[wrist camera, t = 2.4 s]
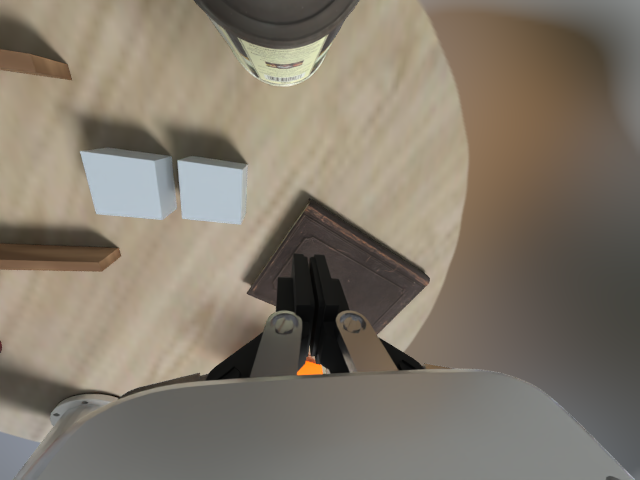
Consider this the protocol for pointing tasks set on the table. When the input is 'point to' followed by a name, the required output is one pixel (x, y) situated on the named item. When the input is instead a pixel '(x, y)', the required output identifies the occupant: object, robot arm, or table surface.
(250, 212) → the table surface
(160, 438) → the robot arm
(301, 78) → the coffee can
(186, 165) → the tile
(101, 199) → the tile
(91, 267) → the frame
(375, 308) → the hardcover book
